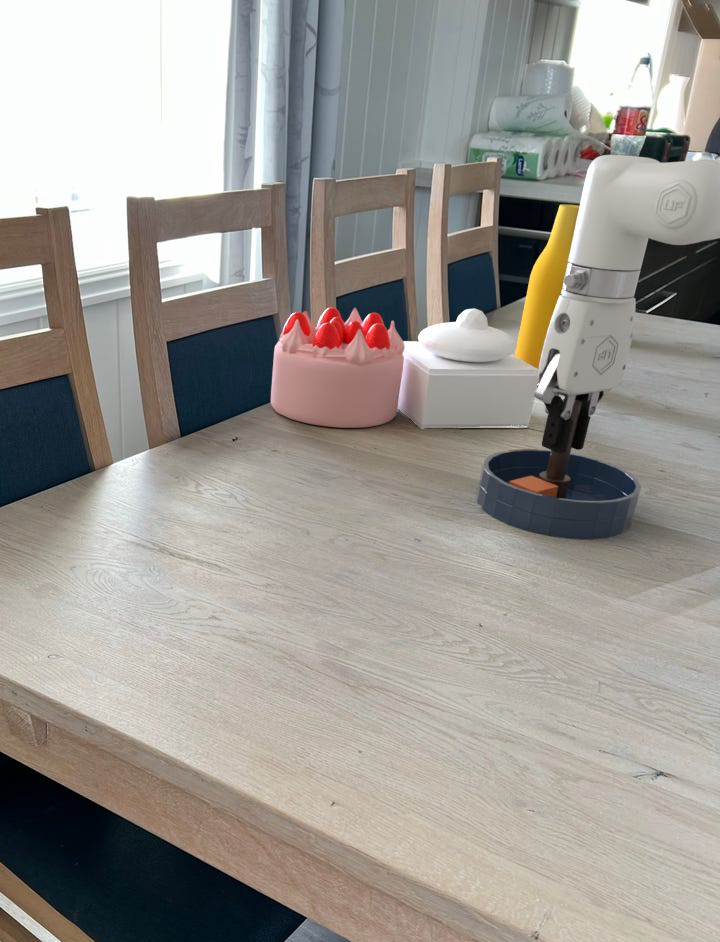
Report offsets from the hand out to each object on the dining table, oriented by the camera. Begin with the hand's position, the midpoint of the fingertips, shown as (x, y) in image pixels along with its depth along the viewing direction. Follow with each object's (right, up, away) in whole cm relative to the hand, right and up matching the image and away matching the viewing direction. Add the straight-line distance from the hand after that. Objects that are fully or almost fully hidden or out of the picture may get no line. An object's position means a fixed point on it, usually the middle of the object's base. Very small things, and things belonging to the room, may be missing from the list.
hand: (562, 446), depth 114 cm
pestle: (0, -6, +3) cm, 7 cm away
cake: (-23, +13, +37) cm, 46 cm away
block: (-4, -8, +2) cm, 9 cm away
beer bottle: (+16, +24, +61) cm, 68 cm away
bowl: (0, -7, +5) cm, 8 cm away
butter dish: (-4, +14, +41) cm, 43 cm away
